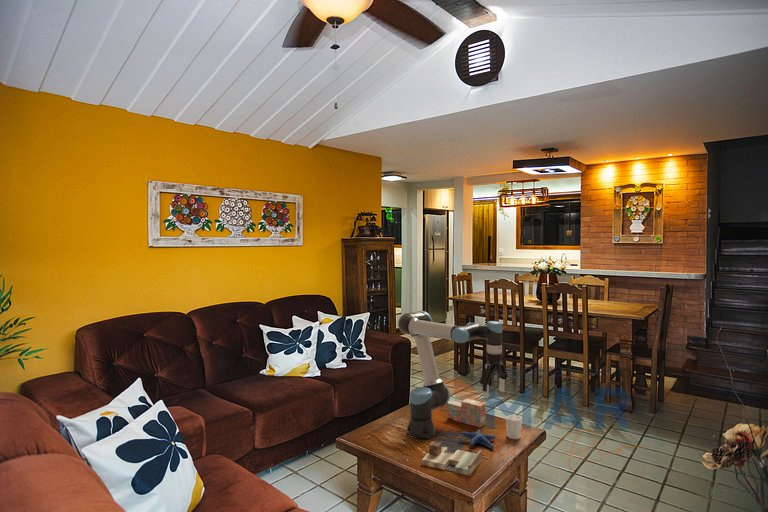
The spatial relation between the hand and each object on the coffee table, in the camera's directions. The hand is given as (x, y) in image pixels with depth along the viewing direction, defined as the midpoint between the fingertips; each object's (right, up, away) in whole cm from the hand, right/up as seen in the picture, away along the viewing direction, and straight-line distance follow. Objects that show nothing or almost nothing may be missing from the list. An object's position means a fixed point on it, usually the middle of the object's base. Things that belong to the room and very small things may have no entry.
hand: (493, 394), depth 231 cm
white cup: (+13, -25, +10) cm, 30 cm away
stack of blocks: (-8, -25, +32) cm, 41 cm away
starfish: (-6, -26, +2) cm, 26 cm away
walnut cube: (-31, -23, -14) cm, 42 cm away
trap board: (-24, -26, -18) cm, 40 cm away
